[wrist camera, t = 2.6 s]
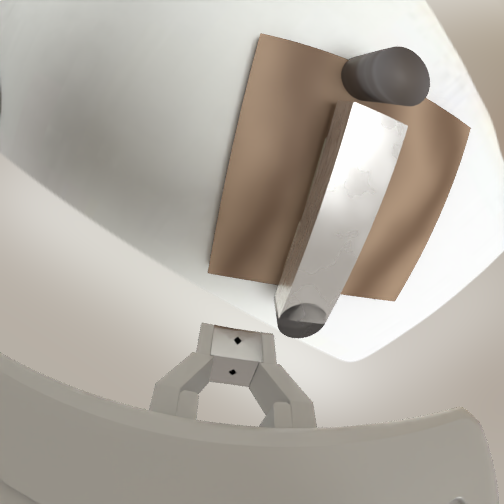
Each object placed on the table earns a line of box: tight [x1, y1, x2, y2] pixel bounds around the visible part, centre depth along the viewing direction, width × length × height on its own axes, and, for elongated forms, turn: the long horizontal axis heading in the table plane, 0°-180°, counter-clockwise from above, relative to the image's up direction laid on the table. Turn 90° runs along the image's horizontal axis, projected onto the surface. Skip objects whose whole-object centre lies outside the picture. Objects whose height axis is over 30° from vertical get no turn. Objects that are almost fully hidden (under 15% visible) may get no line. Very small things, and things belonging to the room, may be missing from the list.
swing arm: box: [274, 101, 408, 338], centre depth 20 cm, size 18×4×3 cm, turn 167°
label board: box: [208, 34, 471, 301], centre depth 19 cm, size 20×21×8 cm
